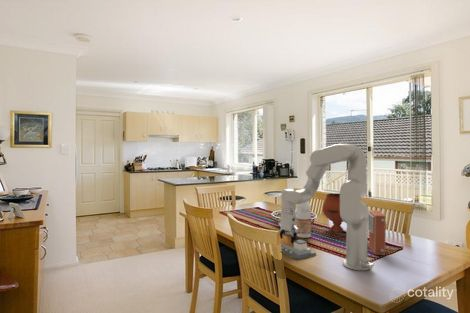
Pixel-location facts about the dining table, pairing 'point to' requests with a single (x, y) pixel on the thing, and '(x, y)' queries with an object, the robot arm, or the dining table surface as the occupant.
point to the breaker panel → (296, 252)
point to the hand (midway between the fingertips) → (288, 240)
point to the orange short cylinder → (287, 239)
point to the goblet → (333, 211)
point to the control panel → (377, 232)
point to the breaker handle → (300, 245)
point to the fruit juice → (304, 220)
